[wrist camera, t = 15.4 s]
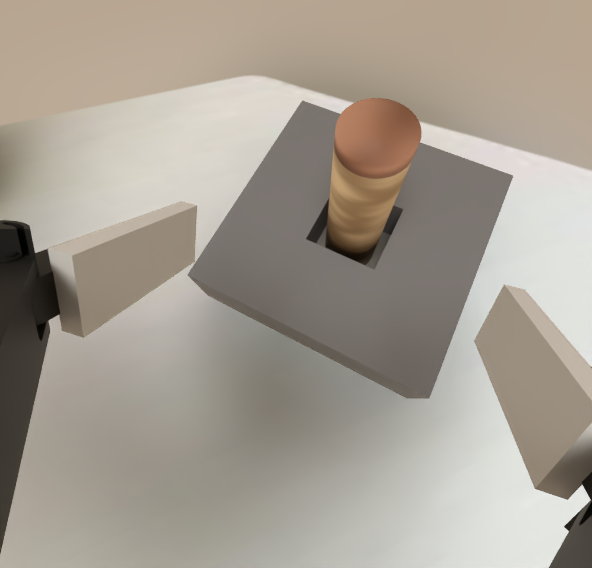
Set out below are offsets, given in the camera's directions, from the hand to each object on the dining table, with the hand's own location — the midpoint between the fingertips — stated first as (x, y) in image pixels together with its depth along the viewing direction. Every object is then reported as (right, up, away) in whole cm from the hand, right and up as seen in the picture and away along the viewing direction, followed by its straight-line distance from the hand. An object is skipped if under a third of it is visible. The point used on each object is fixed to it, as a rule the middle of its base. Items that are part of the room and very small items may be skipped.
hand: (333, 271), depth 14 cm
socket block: (+4, +3, +21) cm, 22 cm away
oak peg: (+4, +3, +20) cm, 21 cm away
